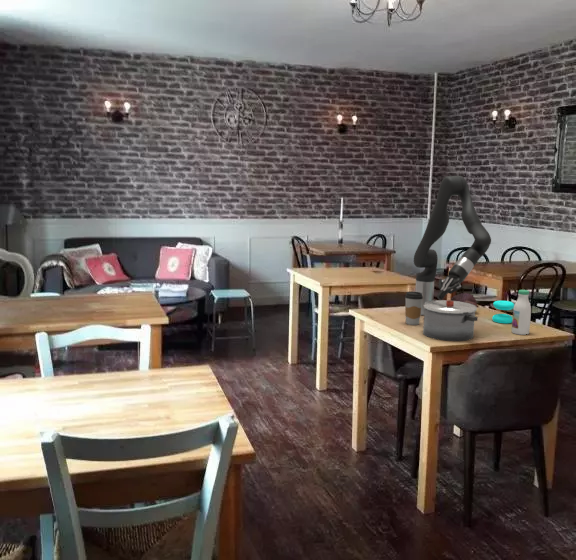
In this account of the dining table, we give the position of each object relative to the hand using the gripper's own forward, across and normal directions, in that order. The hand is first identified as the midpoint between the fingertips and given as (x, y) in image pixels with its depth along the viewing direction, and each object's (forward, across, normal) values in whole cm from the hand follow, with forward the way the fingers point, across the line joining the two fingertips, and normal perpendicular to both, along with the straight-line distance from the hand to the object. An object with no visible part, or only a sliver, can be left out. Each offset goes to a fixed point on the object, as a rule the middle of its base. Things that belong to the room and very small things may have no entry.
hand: (438, 298), depth 286 cm
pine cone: (-23, -34, +48) cm, 63 cm away
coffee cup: (+8, -23, +16) cm, 30 cm away
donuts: (-23, -8, +48) cm, 54 cm away
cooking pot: (+7, 0, +17) cm, 19 cm away
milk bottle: (-16, +12, +41) cm, 45 cm away
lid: (-1, 0, +9) cm, 9 cm away
